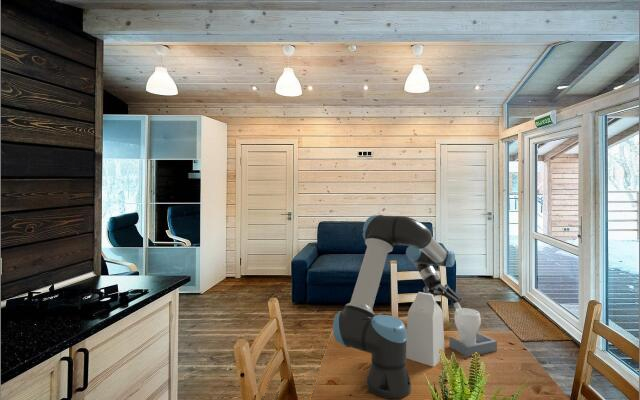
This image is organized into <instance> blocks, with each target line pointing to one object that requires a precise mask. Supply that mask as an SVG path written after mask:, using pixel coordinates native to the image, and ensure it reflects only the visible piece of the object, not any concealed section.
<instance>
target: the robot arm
mask: <svg viewBox="0 0 640 400" xmlns="http://www.w3.org/2000/svg"><path fill="white" fill-rule="evenodd" d="M362 238H363V239H364V244H365V245H366V249H365V253H364V256H363V260H362V263H361V266H360V270H359V273H358V276H357V280H356V283H355V286H354V288H353V293H352V295H351V299H350V302H349V303H346V304H345V305H344V308H343V310H340V311H338V312H337V313H336V314H335V316H334V318H333V324H332V332H333V337H334V339H335V341H336V343H338V344H340V345H342V346H344V347H347V348H352V349H355V350H358V351H362V352H365V353H369V354H371V364H370V367H369V370H368V373H367V376H366V388H367V390H368V391H369V392H370V393H371V394H373V395H374V396H376V397H379V398H382V399H389V400H390V399H391V400H398V399H402V398H405V397H407V396H409V395H410V393H411V391H412V381H411V378H410V375H409V371H408V369H407V358H406V339H407V336H406V332H407V326H406V324H404V322H403V321H402V320H400V319H399V318H397V317H395V316H392V315H388V314H377V315H376V314H375V313H374V311H373V308H374V304H375V300H376V298H377V297H376V296H377V295H378V294H377V293H378V291H379V287H380V283H381V279H382V276H383V272H384V268H385V265H386V261H387V257H388V254H389V253H391V252H393V249H394V246H395V245H396V246H408V247H407V248H406V250H405V256H406V257H407V259H408V260H409V261H410V262H411V263H413V265H414V266H415V267H416V269H417V270H418V271H417V272H419V273H418V274H419V275H420V277H421V279H422V281H423V283H424V285H425V286H424V287H423V289H422V293H427V294H433V296H434V298H435V297H436V296H441V297H445V298H446V299H448V300H449V301H450V302H452V303H453V306H454V308H455V310H456V309H459V308H463V307H462V305H461V303H460V302H461V301H462V298H461V296H459V295H458V294H457V293H456V292H455V291H454V290H453V289H451V288H450V286H449V285H448V284H447V283H446V284H445V285H443V284H442V282H441V279H440V277H439V275H438V274H437V271H436V270H435V268H434V266H439V267H444V268H446V267H447V268H451V267H454V265H455V261H456V256H455V252H454V251H452V250H445V248H444V247H442V245H440V243H439V242H438V241H437V240H436V239H435V238H434V237H433V236H432V232H431V230H430V229H429V228H428V226H426V225H425V224H423V223H421V222H420V221H418V220H417V219H415V218H412V217H409V216H405V215H404V216H403V215H384V214H378V215H377V214H374V215H370V216H369V217H368V218H367V219H366V220H365V222H364V224H363V228H362Z"/></svg>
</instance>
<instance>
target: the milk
mask: <svg viewBox="0 0 640 400" xmlns="http://www.w3.org/2000/svg"><path fill="white" fill-rule="evenodd" d="M443 312H444V311H443V310H442V308H441V306H440V305H439V304H438V302H436V299H435V298H434V296H433V294H431V293H429V294H427V293H424V292H423V291H422V292H421V291H418V292H417V294H416V296H415V298H414V300H413V302H412V303H411V306H410V307H409V308H408V312H407V318H406V320H407V321H406V336H407V339H406V359H408V360H411V361H413V362H414V361H415V362H416V363H417V362H418V363H421V364H423V365H428V366H429V367H430V366H431V367H435V366H436V365H437V364H439V362H440V361H441V360H440V353H439V348H441V349H442V350H443V351H444V352H445V338H444V337H445V335H444V334H445V332H444V330H445V329H444V313H443Z"/></svg>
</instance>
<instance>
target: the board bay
mask: <svg viewBox="0 0 640 400" xmlns="http://www.w3.org/2000/svg"><path fill="white" fill-rule="evenodd" d="M475 339H476V344H471V345H465V344H463V343H461V342H459V341H458V339H455V338H454V337H450V336H449V339H448V341H449V342H448V343H449V344H448V345H449V346H448V347H449V348H451V349H453V350H454V351H456V352H458V353H460V354H461V355H463V356H465V357H466V358H470V357H473V356H472V354H473V353H475V352H478V353H479V355H483V354H484V355H485V354H487V353H492V352H493V353H494V352H497V351H498V341H497V340H495V339H493V338H492V337H489V336H486V335H485V334H482V333H480V332H479V331H477V333H476V338H475Z"/></svg>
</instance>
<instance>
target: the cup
mask: <svg viewBox="0 0 640 400" xmlns="http://www.w3.org/2000/svg"><path fill="white" fill-rule="evenodd" d="M481 321H482V318H481V314H480V311H478V310H477V309H473V308H468V307H462V308H459V309H456V308H455V311H454V324H455V328H456V329H457V331H458V332H457V333H458V338H457V341H459V342H461V343H463V344H465V345H471V344H476V343H477V342H476V333H477V332H479V329H480V327H481V323H482V322H481Z"/></svg>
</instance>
